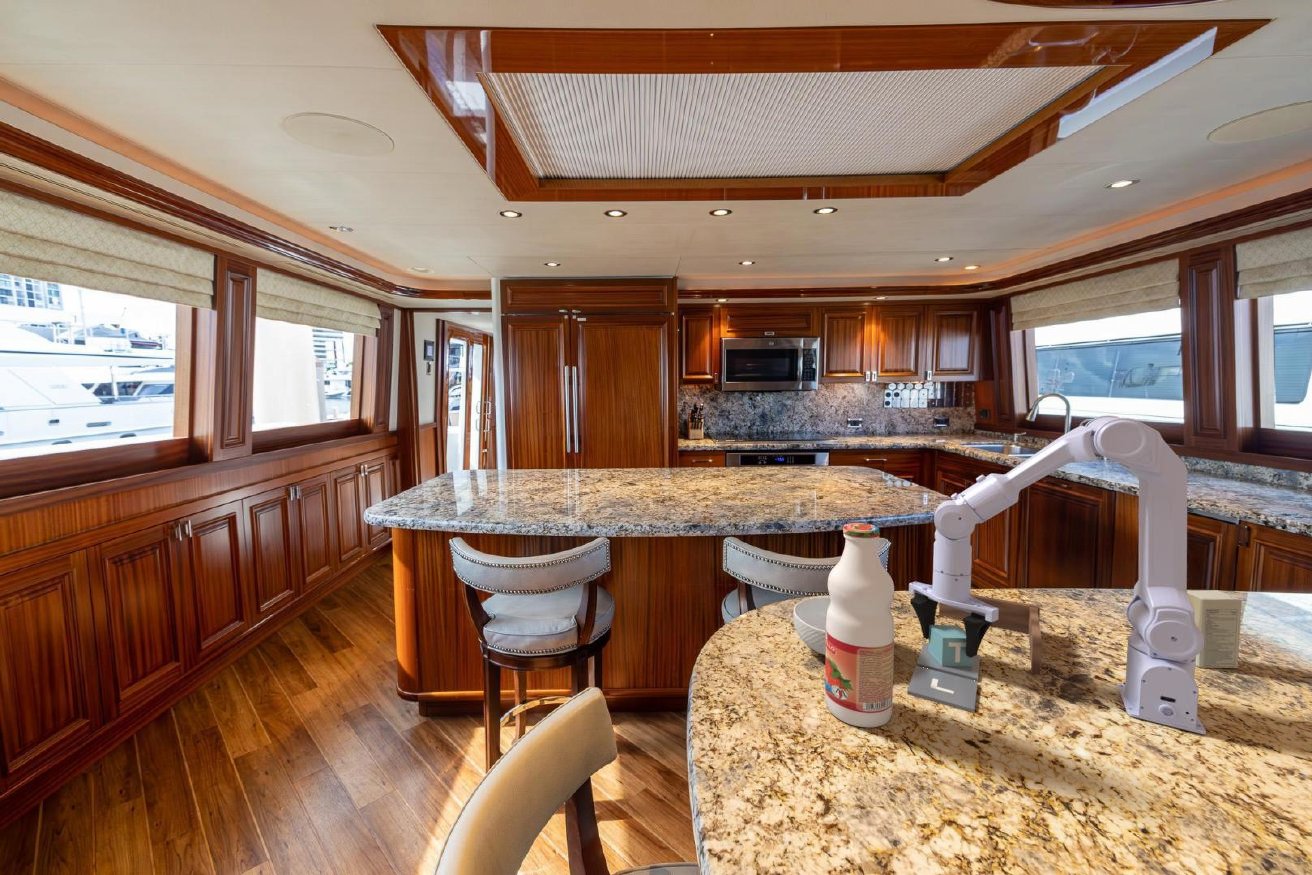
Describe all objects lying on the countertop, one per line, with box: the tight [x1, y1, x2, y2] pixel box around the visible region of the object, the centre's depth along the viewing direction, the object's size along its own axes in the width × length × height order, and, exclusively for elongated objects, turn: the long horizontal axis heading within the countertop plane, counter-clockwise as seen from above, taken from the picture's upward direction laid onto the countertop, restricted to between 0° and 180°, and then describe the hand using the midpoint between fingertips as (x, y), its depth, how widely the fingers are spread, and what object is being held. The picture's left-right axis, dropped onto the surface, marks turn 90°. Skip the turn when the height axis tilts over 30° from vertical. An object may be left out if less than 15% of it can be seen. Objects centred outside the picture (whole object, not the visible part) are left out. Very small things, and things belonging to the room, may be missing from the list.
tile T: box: [916, 642, 981, 683], centre depth 90 cm, size 9×9×1 cm
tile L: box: [906, 665, 978, 714], centre depth 82 cm, size 9×9×1 cm
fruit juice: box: [824, 522, 895, 729], centre depth 76 cm, size 9×9×28 cm
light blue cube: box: [928, 624, 973, 667], centre depth 90 cm, size 5×5×5 cm
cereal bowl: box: [793, 595, 831, 656], centre depth 95 cm, size 17×17×7 cm
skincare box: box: [1187, 589, 1242, 669], centre depth 89 cm, size 6×4×12 cm
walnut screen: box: [938, 593, 1043, 677], centre depth 97 cm, size 19×17×6 cm
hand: (949, 646), depth 90 cm, fingers open, 7 cm apart
